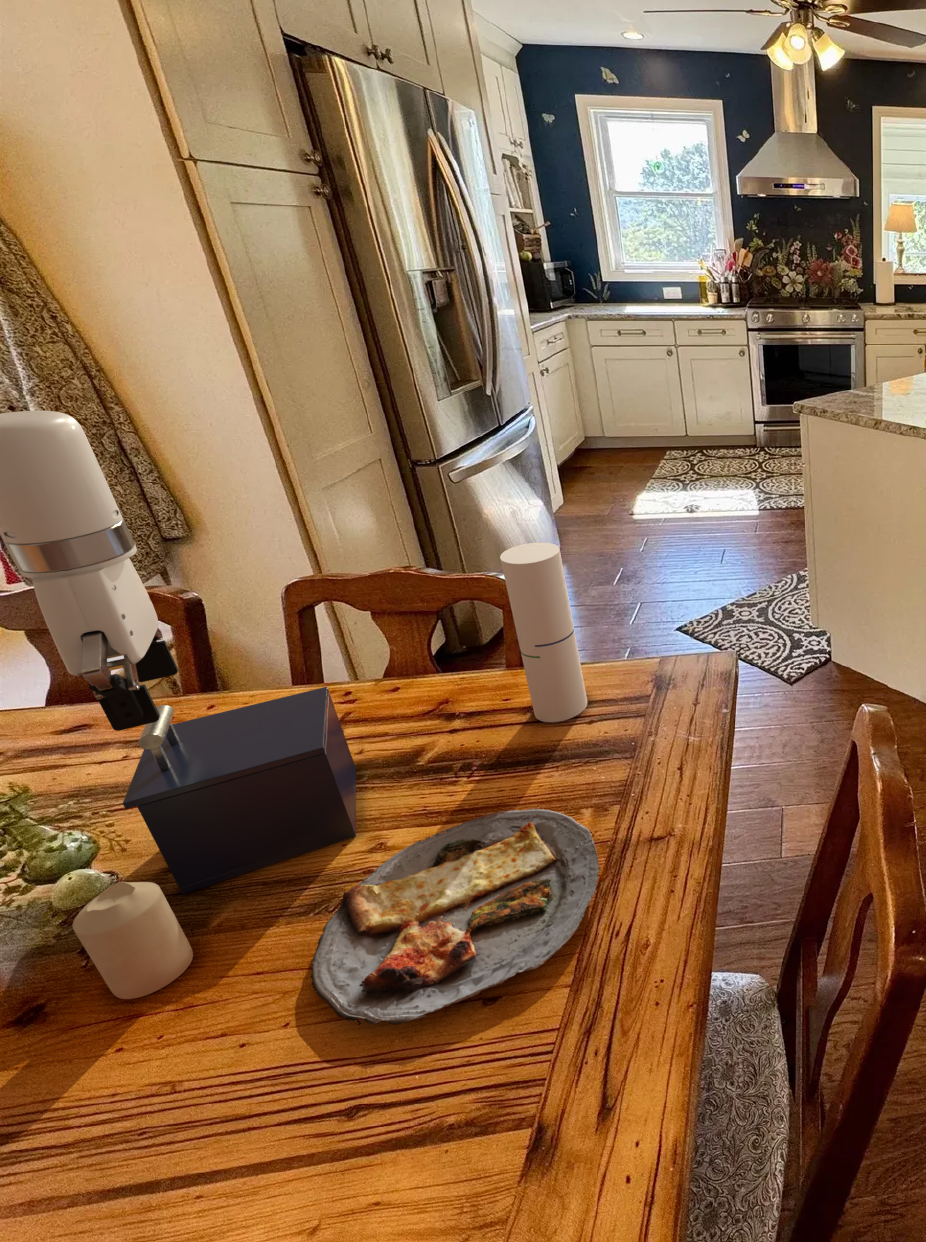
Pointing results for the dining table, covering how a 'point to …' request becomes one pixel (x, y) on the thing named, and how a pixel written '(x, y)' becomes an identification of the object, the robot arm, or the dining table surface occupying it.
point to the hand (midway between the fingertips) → (149, 699)
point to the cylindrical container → (545, 630)
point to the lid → (226, 745)
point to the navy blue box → (257, 816)
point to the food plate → (456, 915)
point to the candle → (133, 939)
